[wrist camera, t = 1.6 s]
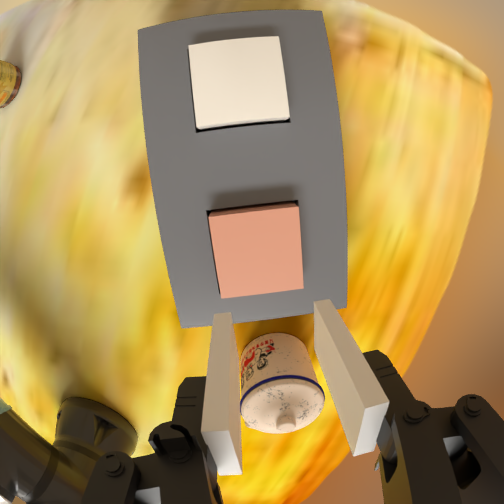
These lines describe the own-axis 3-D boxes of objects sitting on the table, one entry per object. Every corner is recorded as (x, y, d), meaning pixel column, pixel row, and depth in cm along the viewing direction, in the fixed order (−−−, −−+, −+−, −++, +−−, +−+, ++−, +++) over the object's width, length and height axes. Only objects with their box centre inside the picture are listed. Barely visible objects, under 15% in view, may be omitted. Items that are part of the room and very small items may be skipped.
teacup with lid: (261, 318, 34) (271, 387, 23) (322, 344, 36) (349, 409, 25) (216, 383, 37) (212, 452, 26) (273, 403, 39) (283, 467, 28)
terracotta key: (223, 279, 29) (221, 298, 25) (212, 208, 27) (208, 217, 23) (295, 270, 29) (303, 288, 25) (289, 199, 27) (298, 206, 23)
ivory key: (202, 131, 24) (196, 127, 21) (195, 60, 22) (188, 45, 18) (282, 122, 24) (289, 117, 21) (272, 51, 22) (278, 36, 18)
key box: (189, 299, 33) (181, 328, 27) (154, 50, 24) (137, 29, 19) (329, 282, 33) (346, 307, 28) (307, 33, 24) (321, 10, 19)
